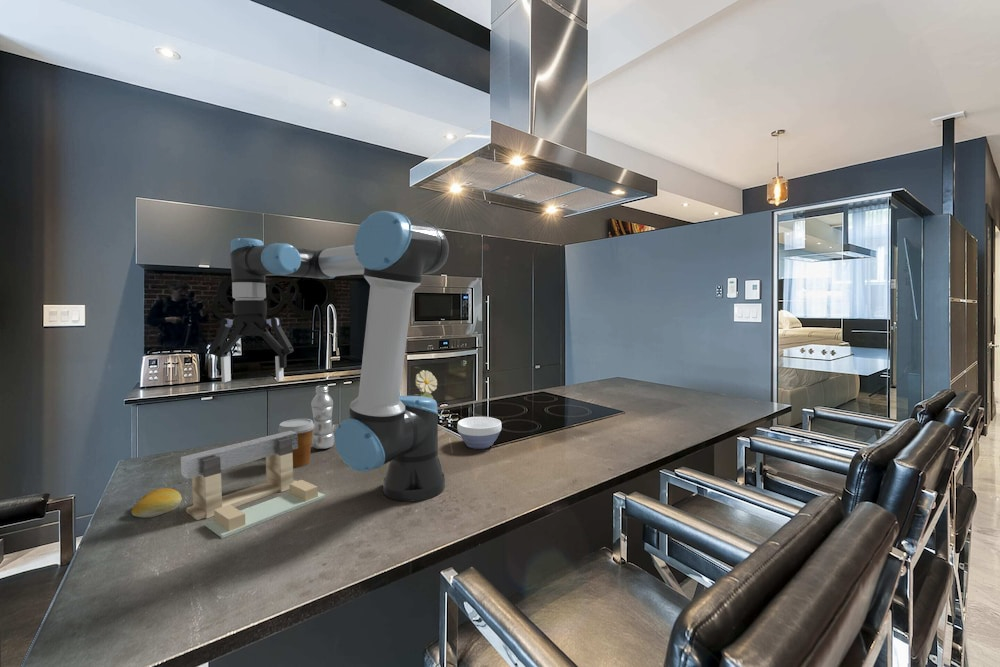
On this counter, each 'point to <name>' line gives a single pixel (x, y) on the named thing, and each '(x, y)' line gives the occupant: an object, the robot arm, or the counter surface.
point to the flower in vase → (426, 383)
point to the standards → (210, 489)
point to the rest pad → (262, 509)
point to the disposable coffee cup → (300, 439)
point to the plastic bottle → (322, 418)
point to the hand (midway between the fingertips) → (253, 381)
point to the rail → (236, 453)
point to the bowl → (479, 431)
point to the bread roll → (157, 503)
